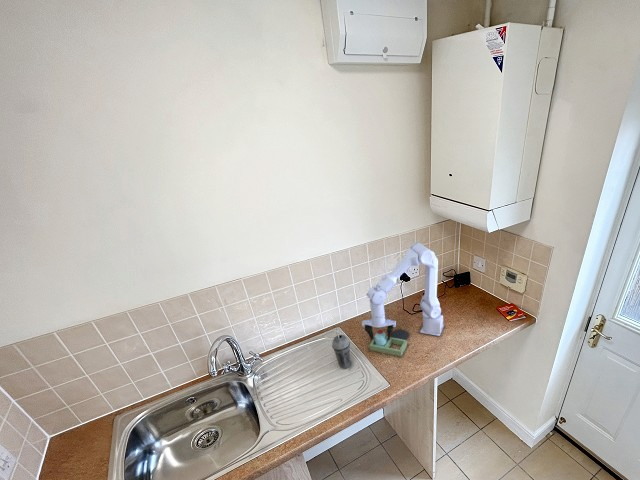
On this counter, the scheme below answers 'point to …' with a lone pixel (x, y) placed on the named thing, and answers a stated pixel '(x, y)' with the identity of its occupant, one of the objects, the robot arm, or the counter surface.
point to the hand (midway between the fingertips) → (380, 338)
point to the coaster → (400, 334)
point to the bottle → (380, 338)
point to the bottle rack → (387, 346)
